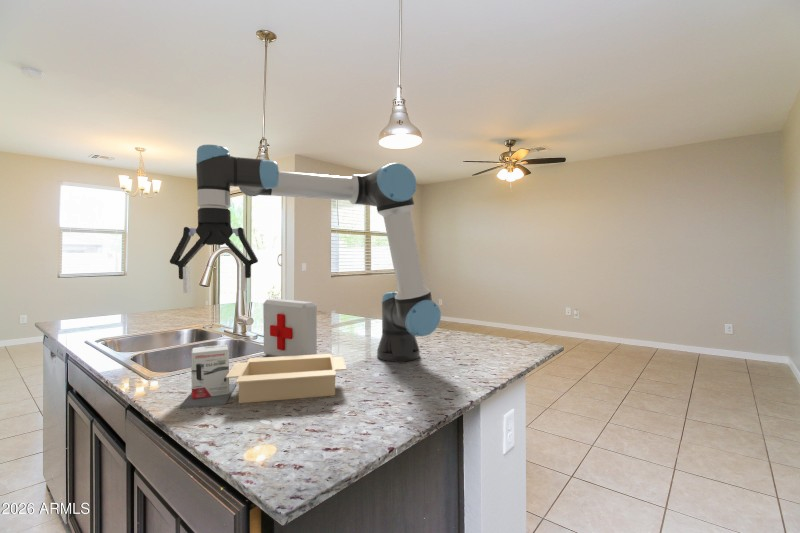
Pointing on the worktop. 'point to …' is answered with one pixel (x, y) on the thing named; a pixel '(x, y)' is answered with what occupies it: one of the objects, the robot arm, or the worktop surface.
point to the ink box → (209, 371)
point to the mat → (208, 399)
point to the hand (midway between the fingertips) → (216, 291)
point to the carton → (286, 377)
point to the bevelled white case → (289, 327)
